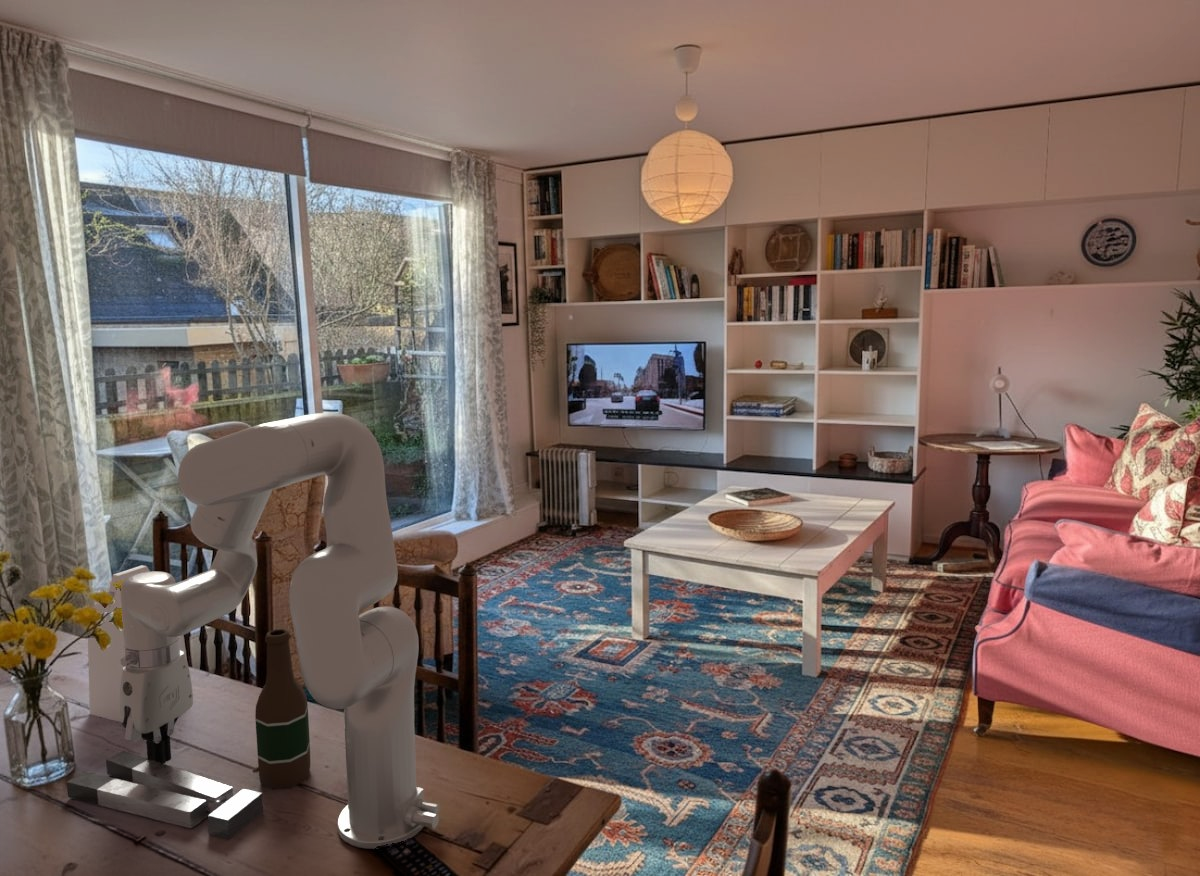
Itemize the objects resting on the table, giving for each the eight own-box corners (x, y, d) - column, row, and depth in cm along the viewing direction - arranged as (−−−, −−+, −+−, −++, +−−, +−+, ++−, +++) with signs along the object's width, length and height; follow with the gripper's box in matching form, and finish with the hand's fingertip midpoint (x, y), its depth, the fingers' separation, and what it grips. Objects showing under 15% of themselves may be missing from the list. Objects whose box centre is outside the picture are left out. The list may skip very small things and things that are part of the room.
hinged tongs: (263, 811, 120) (262, 793, 120) (229, 839, 114) (227, 820, 113) (107, 774, 129) (106, 757, 129) (68, 799, 123) (66, 780, 123)
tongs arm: (243, 806, 121) (242, 790, 121) (217, 823, 117) (216, 807, 117) (125, 764, 132) (123, 750, 131) (97, 779, 128) (96, 764, 127)
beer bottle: (294, 794, 125) (285, 644, 121) (248, 787, 126) (238, 640, 122) (321, 766, 132) (314, 624, 128) (277, 760, 134) (269, 620, 130)
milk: (147, 686, 160) (136, 557, 156) (191, 696, 156) (181, 564, 152) (89, 714, 149) (76, 576, 145) (135, 726, 145) (123, 584, 140)
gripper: (129, 676, 119) (137, 791, 122) (208, 637, 133) (214, 742, 136) (91, 667, 122) (99, 780, 125) (173, 630, 136) (178, 733, 139)
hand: (159, 760), depth 130 cm, fingers closed
